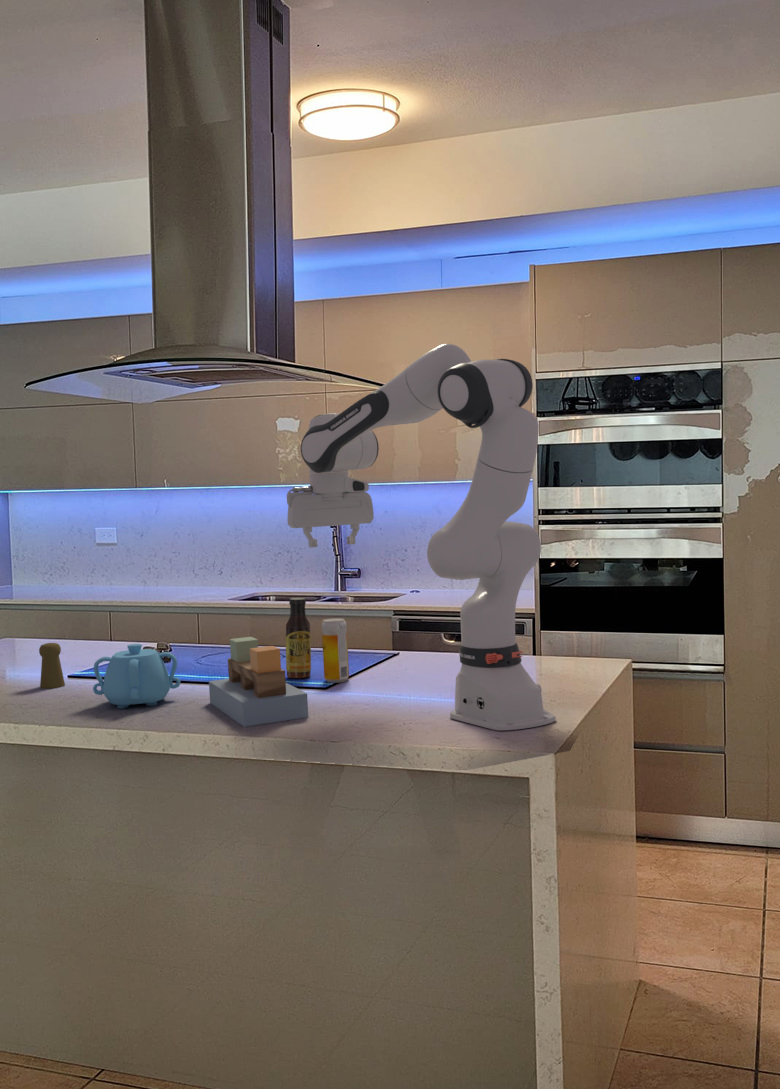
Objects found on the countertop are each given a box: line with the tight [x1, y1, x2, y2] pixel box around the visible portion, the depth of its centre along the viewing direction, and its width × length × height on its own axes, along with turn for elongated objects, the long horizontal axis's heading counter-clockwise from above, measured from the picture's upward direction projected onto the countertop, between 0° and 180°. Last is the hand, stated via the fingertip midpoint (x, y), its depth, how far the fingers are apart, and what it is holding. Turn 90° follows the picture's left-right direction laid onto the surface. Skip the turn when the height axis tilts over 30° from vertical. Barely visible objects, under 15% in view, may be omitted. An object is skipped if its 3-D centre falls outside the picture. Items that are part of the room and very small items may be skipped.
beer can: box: [321, 617, 350, 684], centre depth 248 cm, size 6×6×15 cm
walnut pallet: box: [227, 657, 287, 698], centre depth 221 cm, size 22×6×5 cm, turn 25°
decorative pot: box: [92, 643, 181, 709], centre depth 234 cm, size 16×16×14 cm
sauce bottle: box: [285, 597, 312, 679], centre depth 254 cm, size 6×6×20 cm
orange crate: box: [250, 645, 282, 673], centre depth 214 cm, size 5×5×4 cm
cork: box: [38, 642, 66, 690], centre depth 257 cm, size 6×6×11 cm
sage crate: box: [229, 636, 259, 662], centre depth 227 cm, size 5×5×4 cm
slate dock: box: [208, 678, 309, 728], centre depth 221 cm, size 26×14×5 cm, turn 25°
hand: (332, 545), depth 233 cm, fingers open, 8 cm apart
